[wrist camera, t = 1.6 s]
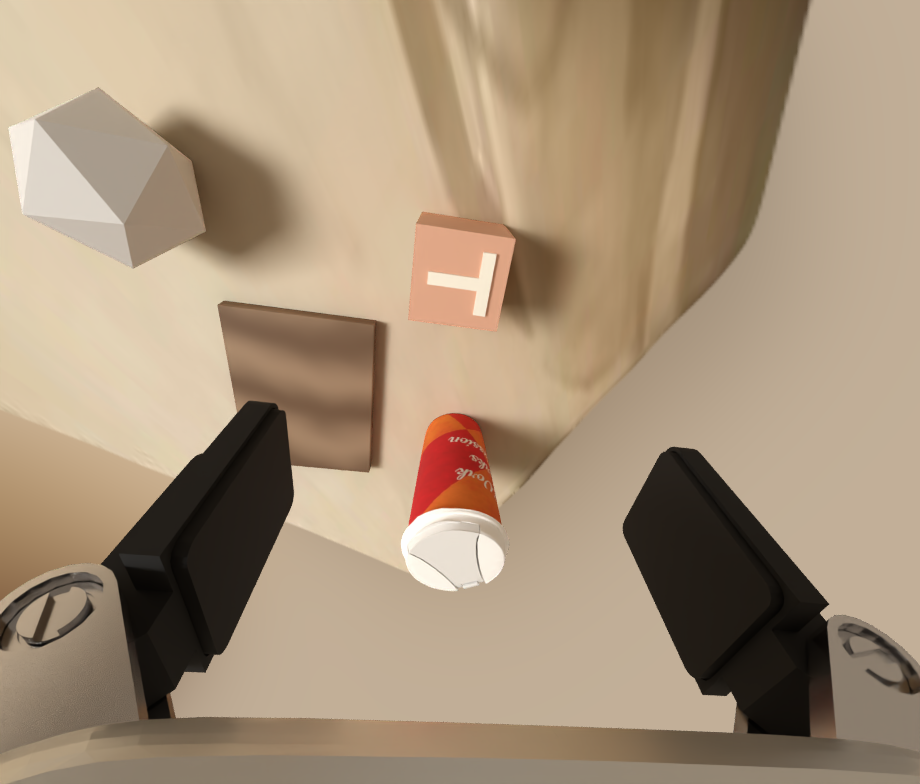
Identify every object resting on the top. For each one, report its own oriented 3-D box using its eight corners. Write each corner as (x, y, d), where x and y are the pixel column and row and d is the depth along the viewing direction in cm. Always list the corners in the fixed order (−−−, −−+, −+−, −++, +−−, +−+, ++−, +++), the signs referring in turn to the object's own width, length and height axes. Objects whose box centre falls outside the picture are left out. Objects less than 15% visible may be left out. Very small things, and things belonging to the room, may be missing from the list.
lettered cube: (422, 211, 28) (415, 224, 22) (503, 224, 28) (516, 239, 23) (415, 293, 31) (408, 321, 25) (488, 303, 31) (496, 332, 26)
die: (116, 66, 24) (-96, 97, 18) (209, 105, 21) (-1, 154, 16) (179, 200, 30) (37, 252, 25) (256, 241, 28) (118, 309, 22)
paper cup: (502, 452, 39) (525, 580, 27) (433, 473, 41) (426, 604, 29) (476, 391, 35) (489, 510, 24) (401, 417, 37) (377, 542, 25)
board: (223, 300, 31) (217, 304, 30) (376, 320, 32) (373, 325, 31) (250, 454, 39) (246, 461, 38) (370, 465, 40) (368, 472, 39)
